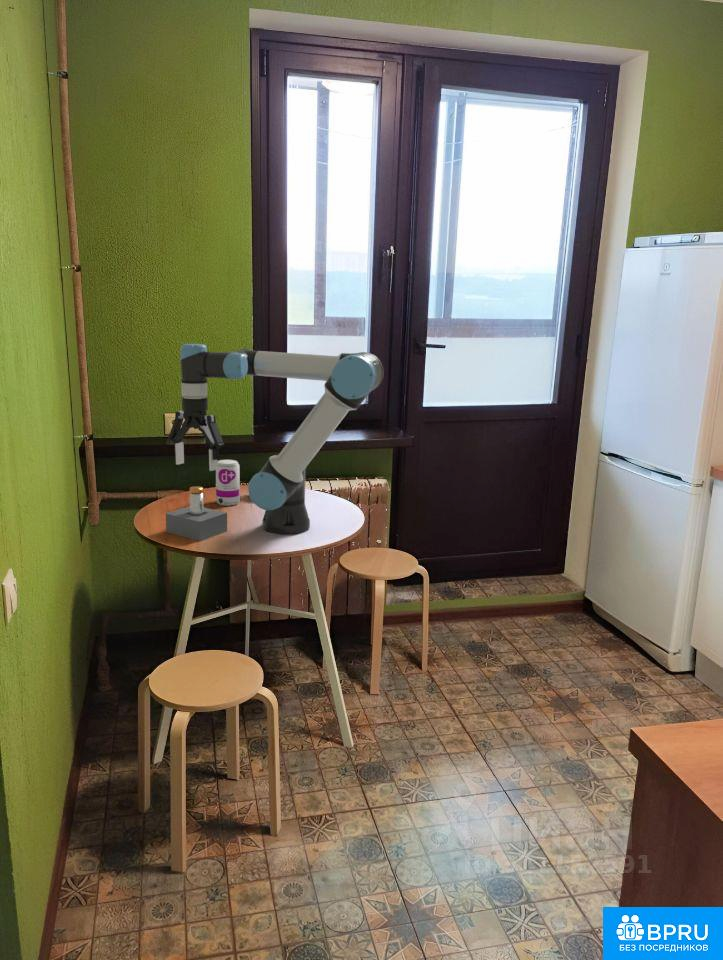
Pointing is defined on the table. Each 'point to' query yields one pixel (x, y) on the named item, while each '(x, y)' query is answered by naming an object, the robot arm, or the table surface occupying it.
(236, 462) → the supplement can
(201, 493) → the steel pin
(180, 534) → the block
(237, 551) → the table surface
